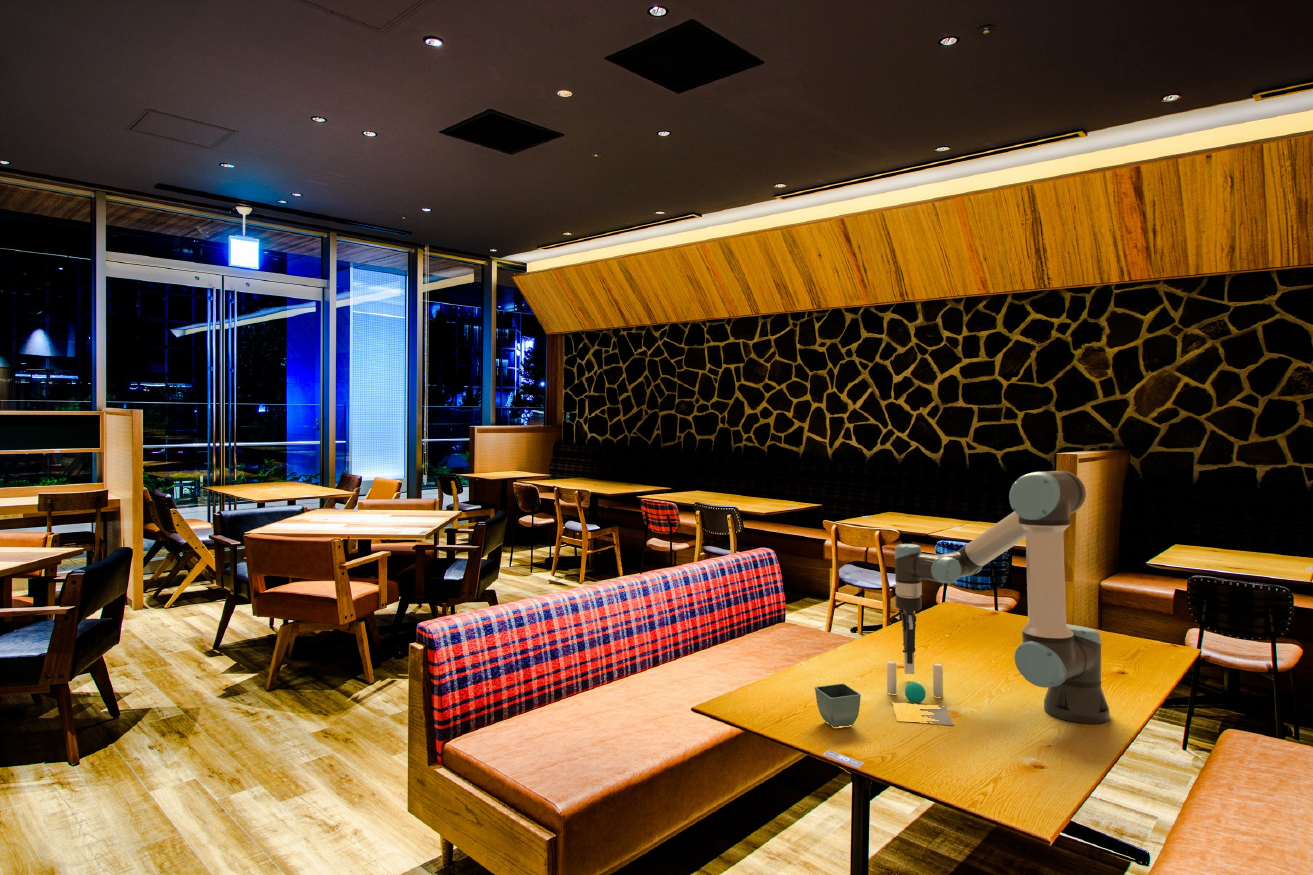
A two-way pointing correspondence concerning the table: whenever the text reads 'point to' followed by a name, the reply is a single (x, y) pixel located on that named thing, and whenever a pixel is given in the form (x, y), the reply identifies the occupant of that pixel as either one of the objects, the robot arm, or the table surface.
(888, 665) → the left post
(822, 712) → the flower pot
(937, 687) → the right post
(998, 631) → the table surface
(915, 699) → the ball
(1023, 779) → the table surface
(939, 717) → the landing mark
